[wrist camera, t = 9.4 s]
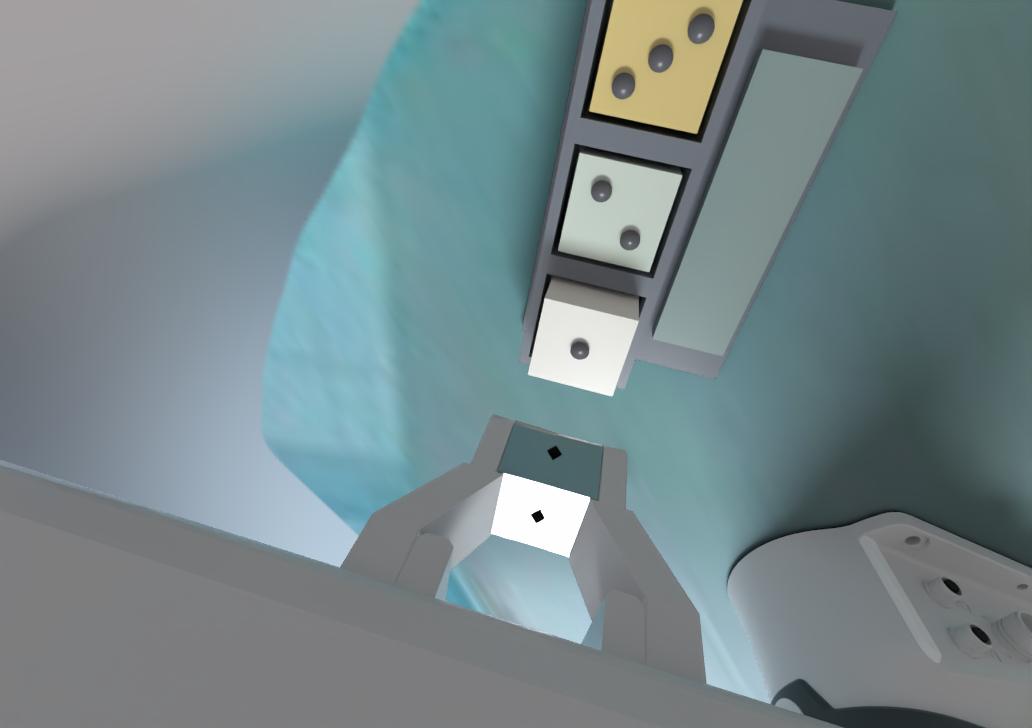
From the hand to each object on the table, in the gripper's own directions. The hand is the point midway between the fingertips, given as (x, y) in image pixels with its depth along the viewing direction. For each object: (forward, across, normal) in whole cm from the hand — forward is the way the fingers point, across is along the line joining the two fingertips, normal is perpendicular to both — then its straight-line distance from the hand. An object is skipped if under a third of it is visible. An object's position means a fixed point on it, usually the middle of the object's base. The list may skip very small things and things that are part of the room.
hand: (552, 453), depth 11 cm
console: (+18, -3, -2) cm, 19 cm away
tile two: (+18, 0, -1) cm, 18 cm away
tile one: (+16, 0, +5) cm, 16 cm away
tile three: (+18, 0, -8) cm, 19 cm away
